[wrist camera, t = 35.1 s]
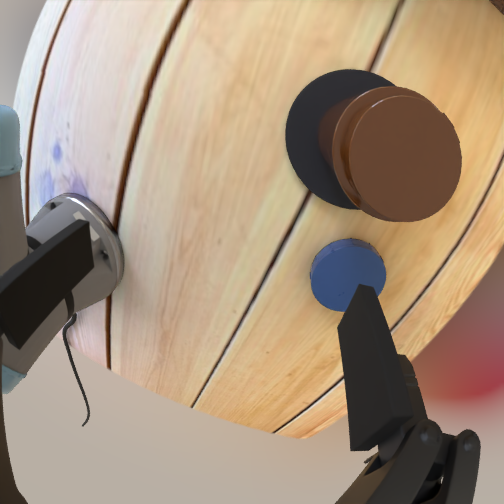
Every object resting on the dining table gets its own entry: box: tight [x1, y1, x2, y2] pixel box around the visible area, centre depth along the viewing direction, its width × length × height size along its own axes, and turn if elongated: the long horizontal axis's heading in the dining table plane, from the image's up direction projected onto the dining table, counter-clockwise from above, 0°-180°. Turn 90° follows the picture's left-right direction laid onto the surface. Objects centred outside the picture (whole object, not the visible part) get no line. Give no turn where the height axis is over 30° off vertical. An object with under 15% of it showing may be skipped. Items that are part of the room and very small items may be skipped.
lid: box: [310, 238, 386, 312], centre depth 27 cm, size 8×8×2 cm
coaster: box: [286, 69, 397, 210], centre depth 21 cm, size 13×13×1 cm
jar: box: [317, 86, 462, 222], centre depth 16 cm, size 8×8×12 cm
